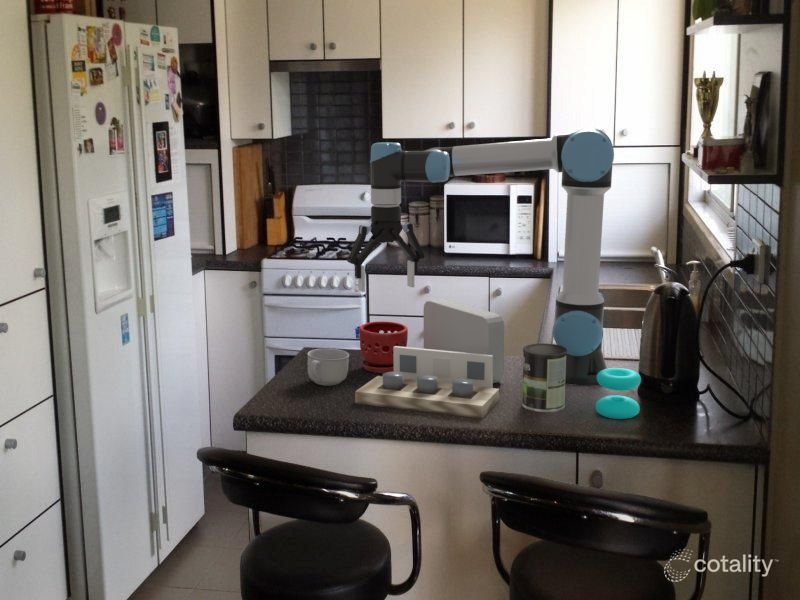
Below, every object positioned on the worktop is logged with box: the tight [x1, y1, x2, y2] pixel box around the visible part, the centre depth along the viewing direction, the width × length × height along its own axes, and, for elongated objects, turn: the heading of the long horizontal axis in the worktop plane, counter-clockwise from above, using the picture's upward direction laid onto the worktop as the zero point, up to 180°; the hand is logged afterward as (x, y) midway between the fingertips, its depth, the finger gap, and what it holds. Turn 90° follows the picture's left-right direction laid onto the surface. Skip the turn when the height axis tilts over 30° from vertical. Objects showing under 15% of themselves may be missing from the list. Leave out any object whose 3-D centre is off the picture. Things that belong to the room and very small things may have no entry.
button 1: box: [382, 372, 403, 389], centre depth 237 cm, size 5×5×3 cm
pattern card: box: [393, 346, 494, 388], centre depth 243 cm, size 26×5×10 cm, turn 68°
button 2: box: [452, 379, 473, 397], centre depth 230 cm, size 5×5×3 cm
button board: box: [354, 375, 500, 419], centre depth 234 cm, size 32×14×3 cm, turn 68°
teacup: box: [306, 348, 350, 387], centre depth 249 cm, size 14×11×8 cm
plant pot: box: [358, 320, 409, 374], centre depth 261 cm, size 13×13×12 cm
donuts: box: [595, 367, 642, 420], centre depth 224 cm, size 10×10×10 cm
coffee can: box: [521, 342, 567, 413], centre depth 229 cm, size 10×10×14 cm
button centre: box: [417, 375, 438, 393], centre depth 233 cm, size 5×5×3 cm
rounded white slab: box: [423, 298, 505, 384], centre depth 257 cm, size 29×8×18 cm, turn 33°
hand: (386, 288), depth 245 cm, fingers open, 13 cm apart
